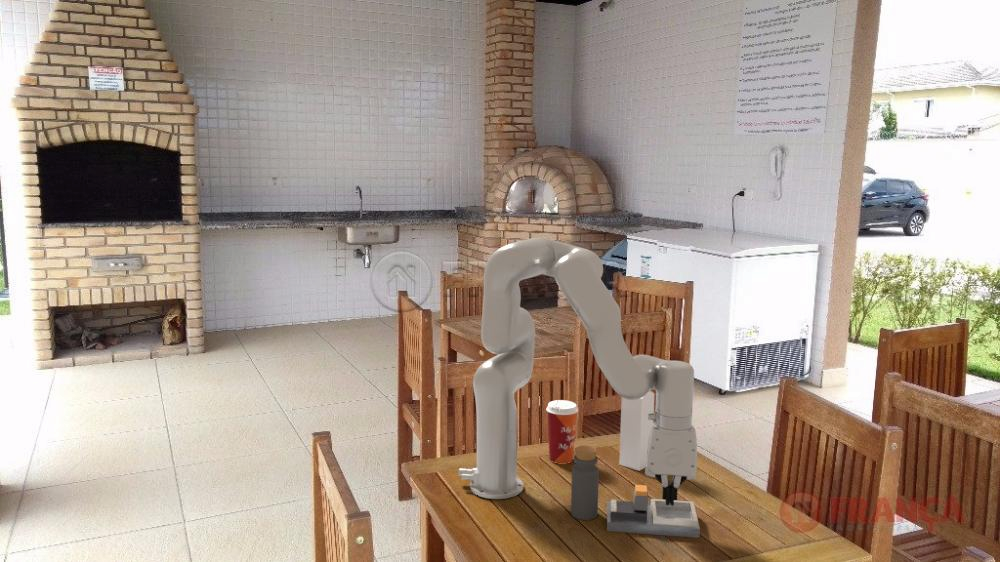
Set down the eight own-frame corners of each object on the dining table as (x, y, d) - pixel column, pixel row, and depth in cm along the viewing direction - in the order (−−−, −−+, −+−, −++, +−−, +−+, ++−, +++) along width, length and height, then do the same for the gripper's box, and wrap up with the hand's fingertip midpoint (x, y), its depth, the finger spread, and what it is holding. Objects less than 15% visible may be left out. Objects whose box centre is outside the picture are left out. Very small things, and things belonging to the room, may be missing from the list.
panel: (606, 530, 162) (607, 515, 161) (607, 509, 171) (607, 494, 171) (699, 537, 159) (700, 522, 158) (694, 515, 169) (695, 500, 168)
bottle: (596, 521, 166) (598, 455, 163) (569, 518, 167) (571, 453, 165) (598, 509, 171) (600, 445, 169) (572, 507, 173) (573, 443, 170)
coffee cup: (568, 468, 194) (569, 411, 191) (539, 461, 198) (540, 405, 196) (582, 457, 201) (584, 402, 198) (554, 451, 205) (555, 397, 203)
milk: (639, 471, 193) (642, 386, 189) (618, 464, 197) (621, 381, 193) (652, 464, 197) (655, 381, 193) (631, 457, 201) (634, 376, 198)
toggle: (634, 509, 163) (634, 491, 163) (633, 502, 167) (634, 484, 166) (647, 510, 163) (648, 492, 162) (646, 503, 167) (647, 485, 166)
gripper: (637, 424, 158) (634, 507, 161) (712, 428, 156) (707, 513, 159) (636, 412, 166) (633, 492, 169) (707, 416, 164) (703, 497, 167)
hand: (669, 502), depth 164 cm, fingers closed
